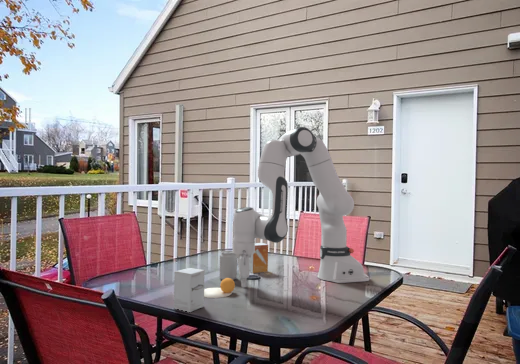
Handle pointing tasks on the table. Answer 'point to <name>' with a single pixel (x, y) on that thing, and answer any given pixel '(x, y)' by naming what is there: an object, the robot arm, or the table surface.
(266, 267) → the small box
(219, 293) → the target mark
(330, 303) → the table surface
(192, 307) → the supplement box
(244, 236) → the robot arm
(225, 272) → the can
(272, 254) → the table surface
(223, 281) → the ball
